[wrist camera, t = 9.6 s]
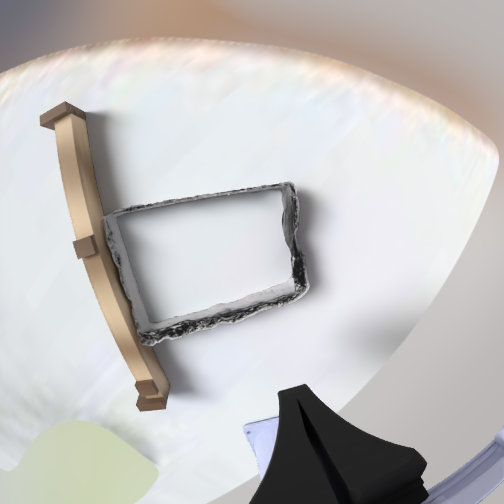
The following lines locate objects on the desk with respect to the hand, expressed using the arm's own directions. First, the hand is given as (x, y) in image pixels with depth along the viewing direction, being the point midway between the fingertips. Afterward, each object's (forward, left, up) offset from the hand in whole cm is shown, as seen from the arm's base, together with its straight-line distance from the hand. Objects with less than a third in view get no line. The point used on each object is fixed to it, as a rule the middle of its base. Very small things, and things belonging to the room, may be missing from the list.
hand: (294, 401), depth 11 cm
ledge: (+7, +10, -10) cm, 16 cm away
